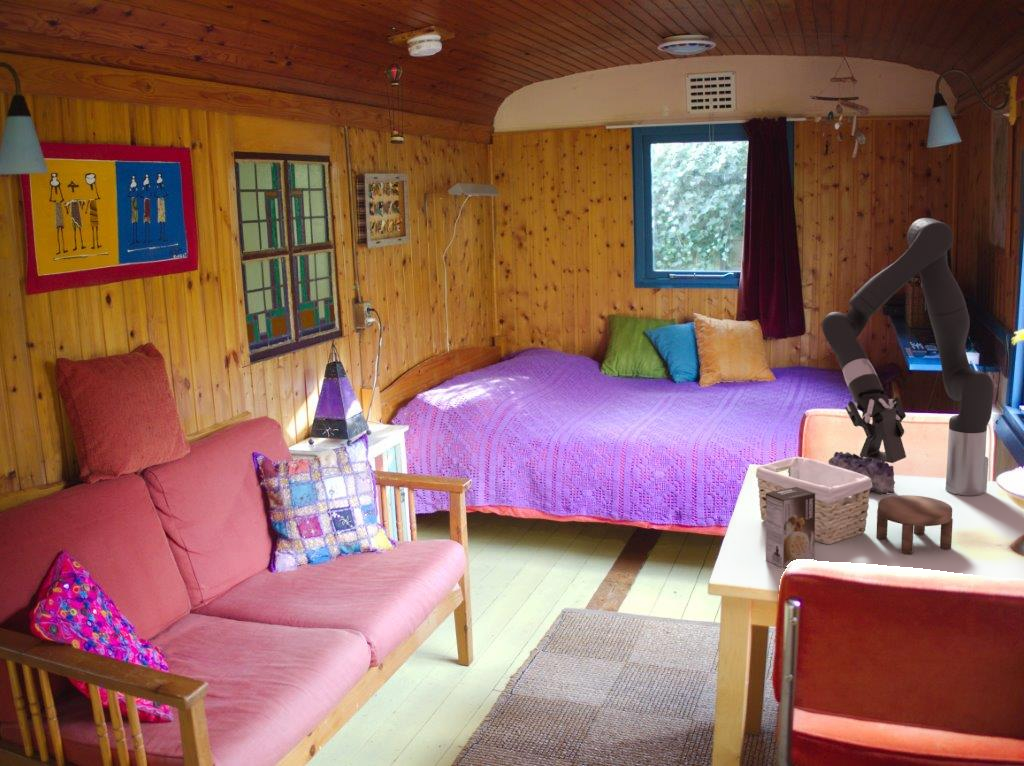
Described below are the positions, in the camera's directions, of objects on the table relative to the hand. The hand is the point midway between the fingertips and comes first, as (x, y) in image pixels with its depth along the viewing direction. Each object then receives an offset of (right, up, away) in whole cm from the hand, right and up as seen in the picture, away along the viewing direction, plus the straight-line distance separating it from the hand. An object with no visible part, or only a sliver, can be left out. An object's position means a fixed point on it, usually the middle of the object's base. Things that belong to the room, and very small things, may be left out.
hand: (887, 437), depth 238 cm
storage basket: (-17, -23, +4) cm, 29 cm away
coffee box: (-28, -27, -16) cm, 42 cm away
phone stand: (0, -5, +3) cm, 6 cm away
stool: (+3, -24, -8) cm, 26 cm away
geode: (+6, -16, +35) cm, 39 cm away
